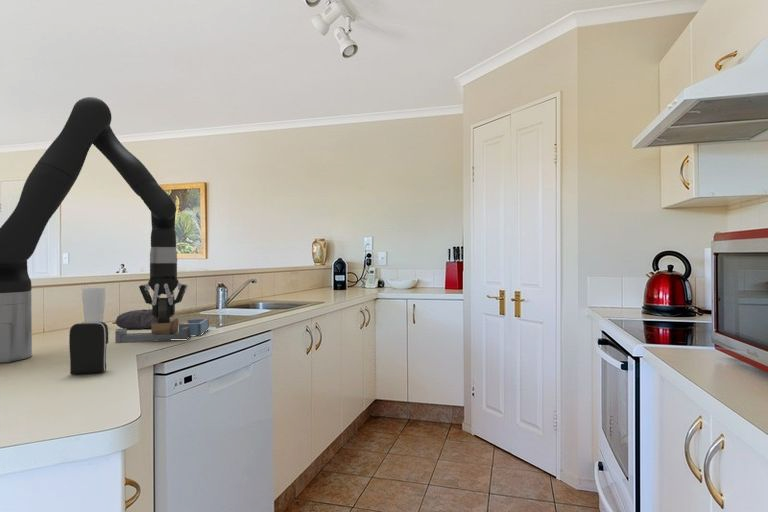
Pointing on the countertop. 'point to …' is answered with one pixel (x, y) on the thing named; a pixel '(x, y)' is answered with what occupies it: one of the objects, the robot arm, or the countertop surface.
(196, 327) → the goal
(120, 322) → the perforated stone tool
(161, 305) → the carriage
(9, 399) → the countertop surface
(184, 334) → the rail
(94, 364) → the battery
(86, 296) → the drinking glass
